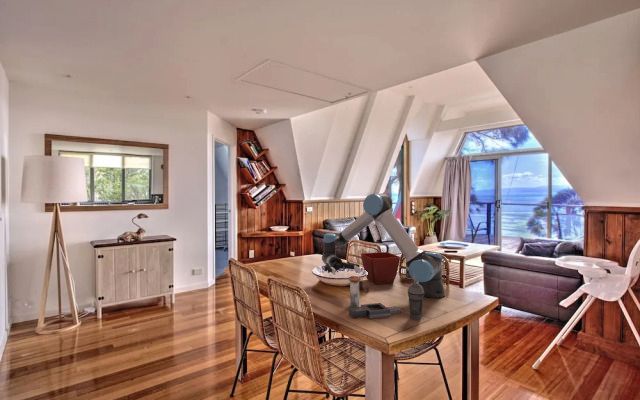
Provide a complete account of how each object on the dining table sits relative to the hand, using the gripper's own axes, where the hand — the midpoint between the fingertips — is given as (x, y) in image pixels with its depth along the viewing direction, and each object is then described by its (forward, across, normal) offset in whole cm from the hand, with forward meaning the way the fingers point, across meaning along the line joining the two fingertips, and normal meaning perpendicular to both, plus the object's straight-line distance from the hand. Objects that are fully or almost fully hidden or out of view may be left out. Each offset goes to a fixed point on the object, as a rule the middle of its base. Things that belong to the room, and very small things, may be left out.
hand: (347, 271), depth 175 cm
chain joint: (+22, -6, -15) cm, 27 cm away
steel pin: (+10, 0, -15) cm, 18 cm away
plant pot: (-28, -33, -15) cm, 46 cm away
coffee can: (-30, -58, -15) cm, 67 cm away
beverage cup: (+33, -21, -15) cm, 41 cm away
